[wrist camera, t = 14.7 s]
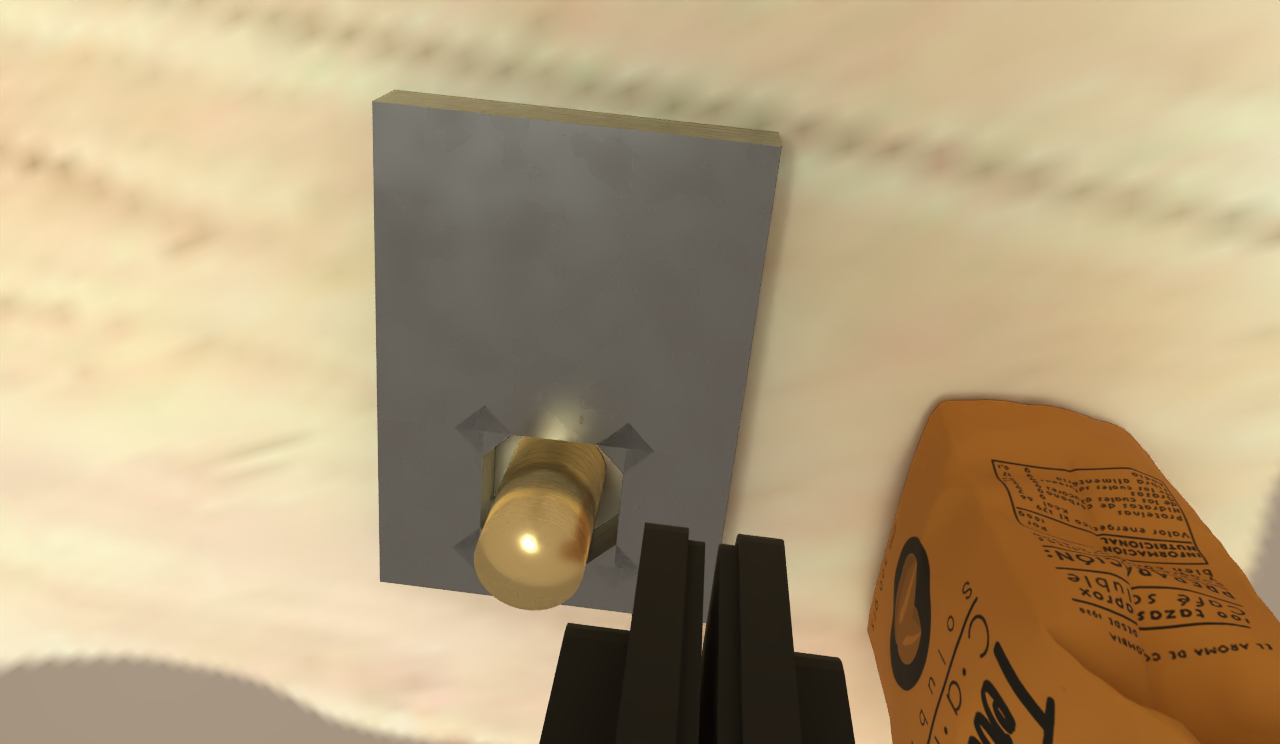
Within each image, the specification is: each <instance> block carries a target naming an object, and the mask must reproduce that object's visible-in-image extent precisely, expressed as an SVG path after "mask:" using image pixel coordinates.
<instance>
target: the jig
mask: <svg viewBox="0 0 1280 744" xmlns="http://www.w3.org/2000/svg"><path fill="white" fill-rule="evenodd" d="M372 105H373V168H374V231H375V294H376V356H377V419H378V482H379V544H380V582H388V583H396V584H404V585H412V586H419V587H427V588H435V589H443V590H451V591H459V592H467V593H474V594H482V595H490V596H493V595H491V594H490V593H489V592H488V591H487V590H486V589H485V587H484V586H483V585H482V583H481V582H480V580H479V578H478V576H477V574H476V571H475V566H474V551H475V548H476V545H477V542H478V540H479V537H480V535H481V532H482V530H483V527H484V525H485V523H486V520H487V518H488V515H489V513H490V510H491V508H492V505H493V503H494V500H495V497H494V496H493V488H494V463H495V447H496V446H497V445H499V444H500V443H501V442H503V441H504V440H505V439H507V438H508V437H510V436H511V435H520V436H528V437H536V438H544V439H553V440H561V441H569V442H577V443H586V444H594V445H598V446H599V448H600V449H601V450H602V451H603V452H604V453H605V454H606V455H607V456H608V457H609V458H610V460H611V461H612V462H613V463H614V464H615V465H616V466H617V467H618V468H619V469H620V470H621V472H622V473H623V483H622V493H621V503H620V513H619V514H618V515H616V516H615V517H613V518H612V519H611V520H609V521H608V522H606V523H605V524H603V525H602V526H600V527H599V528H597V529H596V530H593V533H592V538H591V542H590V547H589V551H588V556H587V560H586V565H585V569H584V574H583V578H582V581H581V584H580V586H579V588H578V589H577V591H576V592H575V593H574V594H573V595H572V596H571V597H570V598H569V599H568V600H567V601H565V602H563V603H562V604H561V605H569V606H577V607H584V608H592V609H600V610H608V611H616V612H624V613H633V606H634V599H635V591H636V584H637V577H638V569H639V562H640V555H641V547H642V540H643V533H644V525H645V522H647V523H655V524H663V525H671V526H679V527H687V528H689V539H688V540H694V541H702V542H705V570H704V598H703V623H707V616H708V610H709V603H710V597H711V590H712V584H713V577H714V571H715V564H716V558H717V551H718V546H719V544H721V542H722V535H723V529H724V522H725V516H726V509H727V503H728V496H729V489H730V483H731V476H732V470H733V463H734V456H735V450H736V443H737V437H738V430H739V424H740V417H741V410H742V404H743V397H744V391H745V384H746V378H747V371H748V364H749V358H750V351H751V345H752V338H753V332H754V325H755V318H756V312H757V305H758V299H759V292H760V286H761V279H762V272H763V266H764V259H765V253H766V246H767V240H768V233H769V226H770V220H771V213H772V207H773V200H774V194H775V187H776V180H777V174H778V167H779V161H780V154H781V148H782V146H781V142H780V138H779V133H778V132H771V131H761V130H752V129H743V128H734V127H725V126H716V125H707V124H698V123H689V122H680V121H671V120H662V119H653V118H644V117H635V116H626V115H617V114H608V113H598V112H589V111H580V110H571V109H562V108H553V107H544V106H535V105H526V104H517V103H508V102H499V101H490V100H481V99H472V98H463V97H454V96H445V95H435V94H426V93H417V92H408V91H399V90H393V91H391V92H390V93H388V94H386V95H384V96H382V97H380V98H378V99H376V100H374V101H372Z"/></svg>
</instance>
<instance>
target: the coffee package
mask: <svg viewBox="0 0 1280 744" xmlns="http://www.w3.org/2000/svg"><path fill="white" fill-rule="evenodd" d="M868 634H869V638H870V641H871V644H872V647H873V651H874V654H875V659H876V663H877V668H878V672H879V676H880V680H881V684H882V687H883V691H884V695H885V699H886V703H887V707H888V712H889V716H890V724H891V734H892V741H893V744H1280V623H1279V621H1278V620H1277V618H1276V617H1275V616H1274V615H1273V613H1272V612H1271V611H1270V609H1269V608H1268V607H1267V606H1266V605H1265V603H1264V602H1263V601H1262V600H1261V599H1260V598H1259V596H1258V595H1257V594H1256V592H1255V590H1254V589H1253V587H1252V585H1251V584H1250V582H1249V580H1248V579H1247V577H1246V575H1245V574H1244V573H1243V571H1242V570H1241V569H1240V567H1239V566H1238V565H1237V564H1236V562H1235V561H1234V560H1233V559H1232V558H1231V557H1230V556H1229V554H1228V553H1227V551H1226V550H1225V548H1224V547H1223V545H1222V544H1221V542H1220V541H1219V540H1218V539H1217V538H1216V537H1215V536H1214V535H1213V534H1212V532H1211V531H1210V530H1209V528H1208V527H1207V526H1206V525H1205V524H1204V523H1203V522H1202V521H1201V520H1200V518H1199V517H1198V515H1197V514H1196V512H1195V511H1194V510H1193V508H1192V507H1191V506H1190V505H1189V504H1188V503H1187V502H1186V501H1185V499H1184V498H1183V497H1182V496H1181V495H1180V494H1179V493H1178V491H1177V490H1176V489H1175V488H1174V487H1173V486H1172V485H1171V483H1170V482H1169V481H1168V480H1167V479H1166V478H1165V476H1164V475H1163V474H1162V473H1161V471H1160V470H1159V469H1158V468H1157V466H1156V465H1155V463H1154V462H1153V460H1152V459H1151V457H1150V456H1149V455H1148V453H1147V452H1146V451H1145V450H1144V449H1143V448H1142V447H1141V446H1140V444H1139V443H1138V442H1137V441H1136V440H1135V439H1134V438H1133V437H1132V435H1131V434H1130V433H1128V432H1127V431H1126V430H1124V429H1123V428H1121V427H1119V426H1117V425H1114V424H1110V423H1106V422H1101V421H1098V420H1095V419H1092V418H1090V417H1087V416H1084V415H1081V414H1078V413H1075V412H1072V411H1069V410H1066V409H1063V408H1057V407H1051V406H1047V405H1025V404H1019V403H1014V402H1009V401H997V400H974V401H959V400H956V401H945V402H942V403H941V404H940V405H939V406H938V407H937V408H936V409H935V411H934V412H933V413H932V415H931V416H930V418H929V420H928V422H927V425H926V427H925V429H924V432H923V434H922V437H921V440H920V442H919V445H918V447H917V450H916V453H915V456H914V459H913V462H912V465H911V468H910V471H909V474H908V477H907V480H906V483H905V486H904V489H903V492H902V495H901V499H900V502H899V506H898V509H897V512H896V515H895V518H894V522H893V526H892V529H891V533H890V537H889V541H888V544H887V548H886V552H885V555H884V559H883V562H882V566H881V570H880V573H879V577H878V580H877V584H876V589H875V593H874V597H873V601H872V605H871V609H870V614H869V621H868Z"/></svg>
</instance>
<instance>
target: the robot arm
mask: <svg viewBox="0 0 1280 744" xmlns="http://www.w3.org/2000/svg"><path fill="white" fill-rule="evenodd" d="M688 539H689V528H687V527H679V526H671V525H663V524H655V523H647V522H645V525H644V533H643V540H642V547H641V555H640V562H639V569H638V577H637V584H636V591H635V599H634V606H633V613H632V621H631V628H630V631H627V630H619V629H612V628H604V627H596V626H588V625H581V624H573V623H568V624H567V626H566V630H565V633H564V638H563V642H562V646H561V651H560V655H559V660H558V664H557V668H556V673H555V677H554V682H553V686H552V690H551V695H550V699H549V704H548V708H547V712H546V717H545V721H544V726H543V730H542V734H541V739H540V743H539V744H855V739H854V733H853V726H852V720H851V713H850V707H849V700H848V694H847V687H846V681H845V674H844V669H843V665H842V661H841V660H840V659H839V658H837V657H830V656H822V655H814V654H806V653H799V652H794V647H793V636H792V625H791V613H790V602H789V591H788V580H787V569H786V558H785V546H784V541H783V540H782V539H775V538H767V537H759V536H751V535H743V534H738V535H737V539H736V543H735V546H734V545H726V544H719V546H718V551H717V558H716V564H715V571H714V577H713V584H712V590H711V597H710V603H709V610H708V616H707V623H706V630H705V636H704V643H703V649H702V626H703V598H704V570H705V542H702V541H694V540H688ZM701 654H702V656H701Z"/></svg>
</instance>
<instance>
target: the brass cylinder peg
mask: <svg viewBox="0 0 1280 744" xmlns="http://www.w3.org/2000/svg"><path fill="white" fill-rule="evenodd" d="M604 479H605V463H604V459H603V457H602V454H601V452H600V451H599V449H598V448H597V446H596V445H594V444H586V443H577V442H569V441H561V440H553V439H544V438H536V437H528V436H525V437H524V438H523V439H522V440H521V441H520V442H519V444H518V445H517V447H516V449H515V451H514V453H513V455H512V458H511V460H510V463H509V465H508V468H507V470H506V473H505V475H504V478H503V480H502V483H501V485H500V488H499V490H498V493H497V495H496V498H495V500H494V503H493V505H492V508H491V510H490V513H489V515H488V518H487V520H486V523H485V525H484V527H483V530H482V532H481V535H480V537H479V540H478V542H477V545H476V548H475V551H474V566H475V571H476V574H477V576H478V578H479V580H480V582H481V583H482V585H483V586H484V587H485V589H486V590H487V591H488V592H489V593H490V594H491V595H493V596H494V597H495V598H497V599H498V600H500V601H501V602H503V603H505V604H507V605H510V606H512V607H516V608H519V609H525V610H543V609H549V608H552V607H555V606H558V605H560V604H562V603H563V602H565V601H567V600H568V599H569V598H570V597H571V596H572V595H573V594H574V593H575V592H576V591H577V589H578V588H579V586H580V584H581V581H582V578H583V574H584V569H585V565H586V560H587V556H588V551H589V547H590V542H591V538H592V533H593V529H594V524H595V520H596V515H597V511H598V506H599V501H600V497H601V492H602V488H603V483H604Z"/></svg>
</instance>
